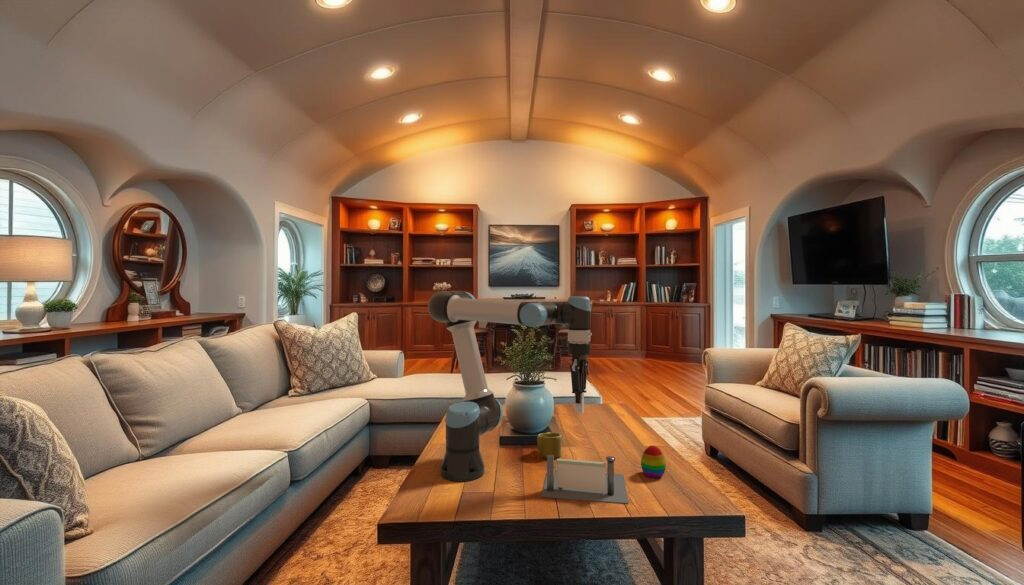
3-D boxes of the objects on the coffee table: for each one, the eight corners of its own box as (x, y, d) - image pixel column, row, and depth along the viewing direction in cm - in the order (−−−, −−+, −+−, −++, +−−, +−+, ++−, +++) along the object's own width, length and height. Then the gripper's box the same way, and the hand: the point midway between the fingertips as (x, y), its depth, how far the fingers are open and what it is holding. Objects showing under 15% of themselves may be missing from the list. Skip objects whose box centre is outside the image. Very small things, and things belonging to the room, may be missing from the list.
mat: (541, 497, 142) (541, 496, 142) (548, 469, 164) (548, 469, 164) (628, 503, 138) (628, 502, 138) (623, 475, 159) (623, 474, 159)
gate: (605, 492, 145) (605, 462, 145) (605, 494, 143) (605, 464, 143) (557, 487, 148) (557, 458, 148) (556, 489, 146) (556, 460, 146)
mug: (564, 457, 171) (557, 429, 174) (538, 463, 173) (531, 436, 176) (569, 452, 183) (562, 427, 185) (544, 458, 185) (537, 433, 187)
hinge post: (606, 496, 142) (606, 459, 142) (605, 493, 145) (605, 456, 145) (615, 497, 142) (615, 459, 142) (615, 493, 145) (615, 456, 145)
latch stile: (546, 492, 146) (547, 457, 145) (547, 488, 148) (547, 454, 148) (555, 493, 145) (555, 457, 145) (555, 489, 148) (556, 454, 148)
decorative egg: (668, 473, 161) (668, 444, 161) (662, 481, 154) (662, 451, 154) (644, 468, 165) (644, 440, 165) (638, 476, 158) (638, 447, 158)
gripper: (584, 344, 148) (584, 418, 148) (595, 341, 160) (595, 409, 160) (562, 343, 152) (562, 415, 152) (574, 339, 163) (574, 406, 163)
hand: (579, 412), depth 156 cm, fingers closed
